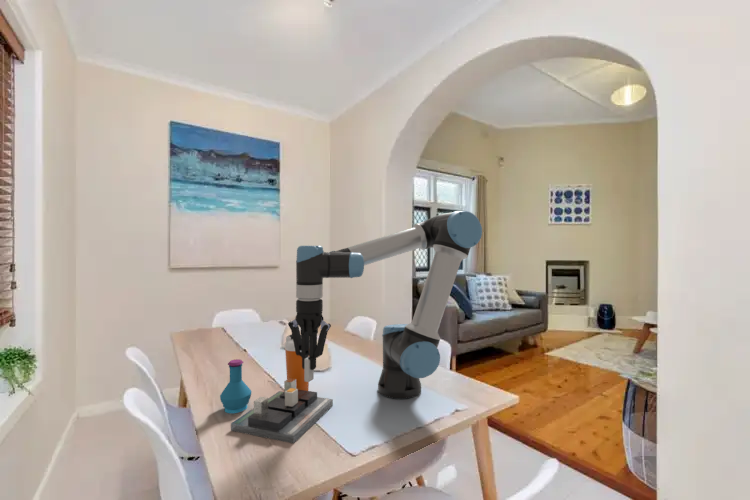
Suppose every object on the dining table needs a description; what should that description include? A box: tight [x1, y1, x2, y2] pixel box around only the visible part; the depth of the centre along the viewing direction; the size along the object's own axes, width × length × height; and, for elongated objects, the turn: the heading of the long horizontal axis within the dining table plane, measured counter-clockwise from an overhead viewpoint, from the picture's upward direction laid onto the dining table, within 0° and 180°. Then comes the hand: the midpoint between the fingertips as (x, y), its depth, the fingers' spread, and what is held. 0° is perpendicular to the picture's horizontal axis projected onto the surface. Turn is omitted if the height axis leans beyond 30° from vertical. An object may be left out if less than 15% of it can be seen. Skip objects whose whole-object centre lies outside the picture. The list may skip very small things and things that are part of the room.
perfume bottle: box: [219, 358, 252, 414], centre depth 113 cm, size 9×9×15 cm
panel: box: [230, 378, 334, 444], centre depth 107 cm, size 20×23×8 cm
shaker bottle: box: [284, 333, 310, 391], centre depth 125 cm, size 9×9×20 cm
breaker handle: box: [285, 388, 298, 407], centre depth 106 cm, size 2×3×4 cm
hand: (309, 380), depth 104 cm, fingers closed
